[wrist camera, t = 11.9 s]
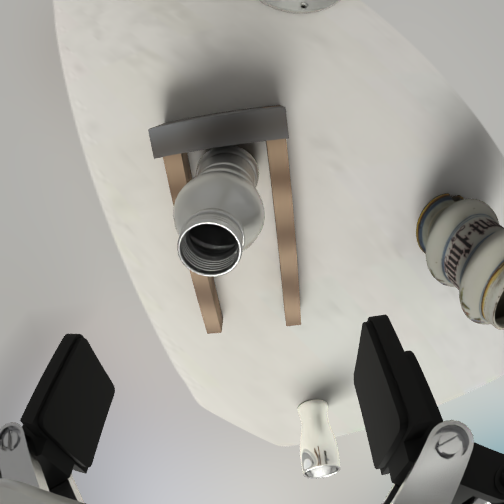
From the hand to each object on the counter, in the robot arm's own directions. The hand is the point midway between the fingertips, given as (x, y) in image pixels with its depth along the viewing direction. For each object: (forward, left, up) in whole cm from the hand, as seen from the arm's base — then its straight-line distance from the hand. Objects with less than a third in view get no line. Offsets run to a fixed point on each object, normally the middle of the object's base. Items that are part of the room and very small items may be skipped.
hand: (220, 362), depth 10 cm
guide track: (+8, -2, -29) cm, 30 cm away
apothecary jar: (+11, +27, -29) cm, 41 cm away
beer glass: (+48, +7, -29) cm, 56 cm away
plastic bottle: (+1, -2, -29) cm, 29 cm away
